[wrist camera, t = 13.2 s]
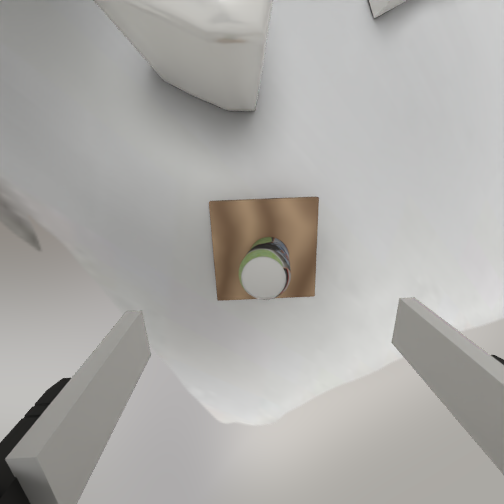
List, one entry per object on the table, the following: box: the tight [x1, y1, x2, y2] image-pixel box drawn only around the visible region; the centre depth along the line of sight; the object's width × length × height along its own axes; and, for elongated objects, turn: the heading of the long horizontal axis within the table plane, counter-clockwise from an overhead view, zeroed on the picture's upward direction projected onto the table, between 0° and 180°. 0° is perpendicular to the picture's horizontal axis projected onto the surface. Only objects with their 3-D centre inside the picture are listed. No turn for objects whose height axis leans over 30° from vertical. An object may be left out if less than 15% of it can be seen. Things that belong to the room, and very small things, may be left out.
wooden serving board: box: [209, 197, 319, 300], centre depth 40 cm, size 16×16×4 cm
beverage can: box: [239, 237, 291, 300], centre depth 32 cm, size 6×7×12 cm
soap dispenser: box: [94, 0, 273, 111], centre depth 24 cm, size 15×14×22 cm
